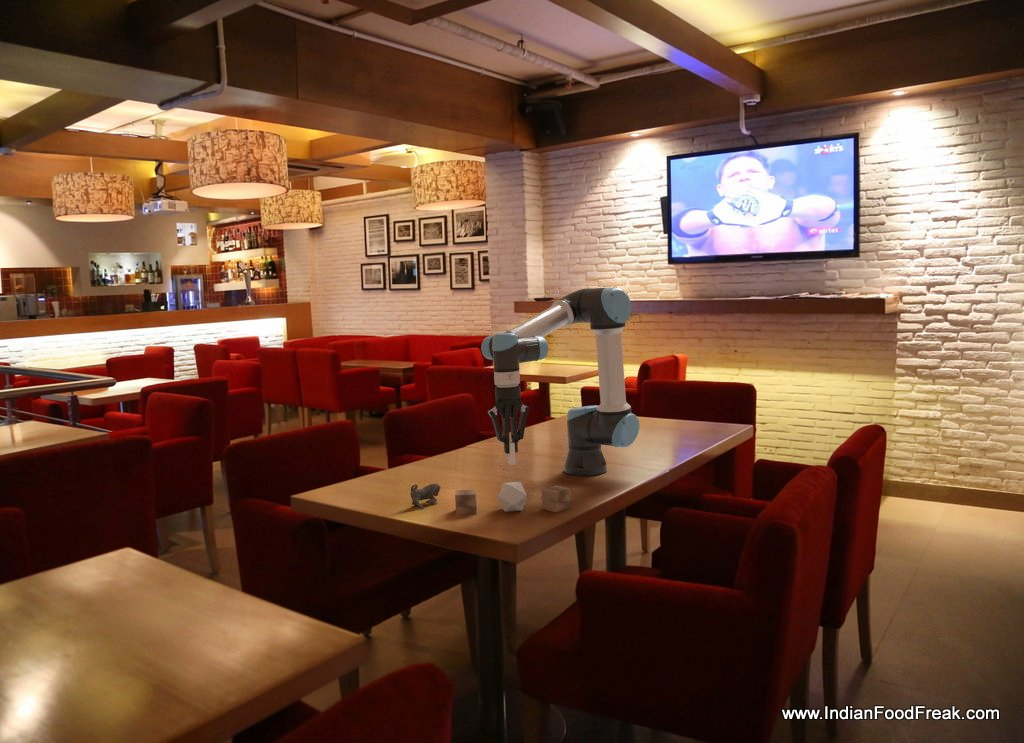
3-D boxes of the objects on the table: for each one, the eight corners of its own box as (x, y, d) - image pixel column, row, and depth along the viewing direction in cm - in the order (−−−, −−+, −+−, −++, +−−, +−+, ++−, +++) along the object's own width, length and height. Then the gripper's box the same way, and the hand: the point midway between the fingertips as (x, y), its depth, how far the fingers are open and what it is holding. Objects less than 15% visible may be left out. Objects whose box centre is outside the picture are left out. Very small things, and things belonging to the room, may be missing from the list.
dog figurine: (418, 510, 239) (417, 486, 238) (406, 507, 243) (405, 484, 242) (447, 501, 248) (446, 478, 247) (435, 498, 252) (434, 476, 251)
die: (517, 517, 229) (534, 487, 231) (490, 502, 230) (507, 472, 232) (517, 520, 237) (533, 490, 240) (491, 505, 238) (507, 476, 241)
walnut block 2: (556, 504, 239) (556, 485, 238) (570, 508, 234) (570, 488, 234) (542, 508, 235) (541, 489, 235) (556, 512, 231) (555, 492, 230)
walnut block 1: (477, 508, 239) (476, 489, 238) (476, 514, 233) (475, 494, 232) (457, 509, 238) (456, 490, 238) (456, 515, 233) (455, 495, 232)
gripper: (490, 388, 226) (495, 469, 228) (532, 384, 230) (536, 463, 233) (482, 386, 233) (487, 464, 235) (523, 381, 237) (527, 458, 240)
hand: (511, 463), depth 234 cm, fingers closed
